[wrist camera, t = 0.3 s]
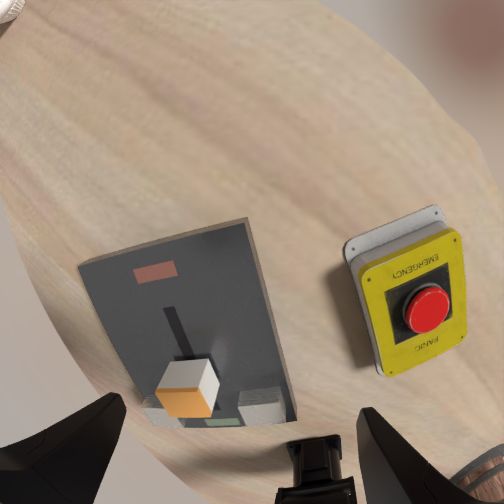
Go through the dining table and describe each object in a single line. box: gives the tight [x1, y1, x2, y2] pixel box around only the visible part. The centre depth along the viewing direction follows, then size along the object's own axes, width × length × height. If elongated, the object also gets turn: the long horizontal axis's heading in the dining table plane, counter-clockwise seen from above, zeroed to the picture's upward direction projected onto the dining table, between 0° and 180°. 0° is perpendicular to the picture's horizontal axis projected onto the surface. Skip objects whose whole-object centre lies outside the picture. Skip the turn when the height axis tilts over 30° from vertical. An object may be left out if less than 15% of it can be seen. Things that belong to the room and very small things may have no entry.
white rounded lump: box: [0, 0, 25, 24], centre depth 11 cm, size 6×6×7 cm
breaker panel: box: [78, 217, 297, 428], centre depth 23 cm, size 20×15×4 cm
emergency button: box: [344, 205, 467, 377], centre depth 20 cm, size 9×4×15 cm
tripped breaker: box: [155, 359, 220, 418], centre depth 21 cm, size 3×4×4 cm
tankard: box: [450, 444, 504, 502], centre depth 24 cm, size 24×17×20 cm
